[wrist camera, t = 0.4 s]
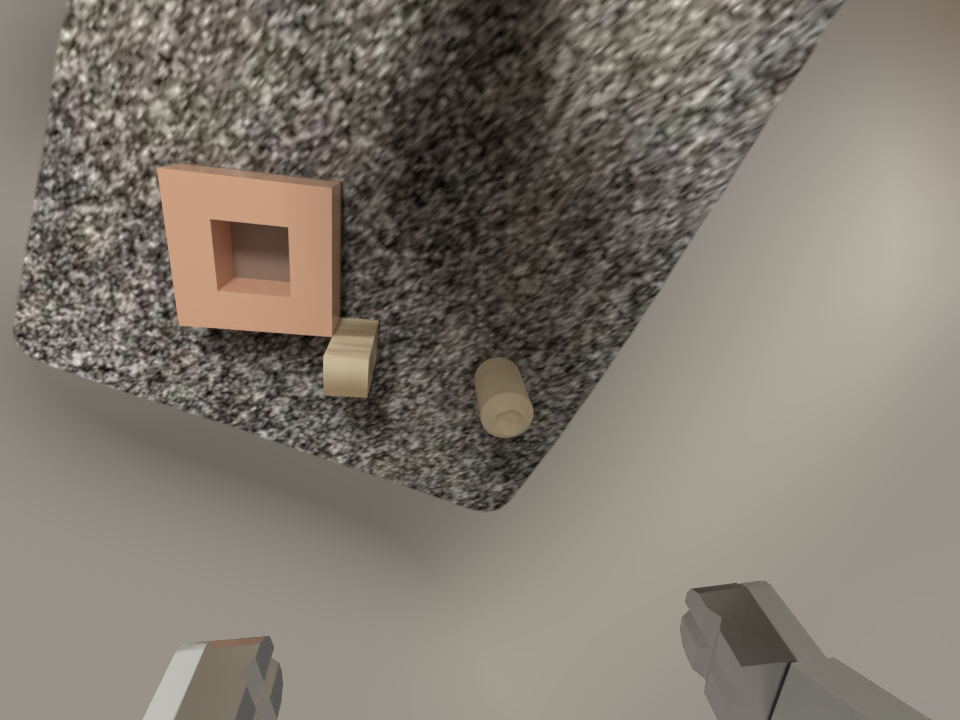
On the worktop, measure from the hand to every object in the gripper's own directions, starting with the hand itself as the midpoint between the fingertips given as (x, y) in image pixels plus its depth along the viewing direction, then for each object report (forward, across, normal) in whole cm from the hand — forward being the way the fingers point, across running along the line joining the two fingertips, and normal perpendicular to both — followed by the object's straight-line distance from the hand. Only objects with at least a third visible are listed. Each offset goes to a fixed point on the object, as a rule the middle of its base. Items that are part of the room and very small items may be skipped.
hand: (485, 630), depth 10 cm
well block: (+45, +17, +1) cm, 48 cm away
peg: (+45, +10, +11) cm, 48 cm away
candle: (+45, -6, +18) cm, 49 cm away
